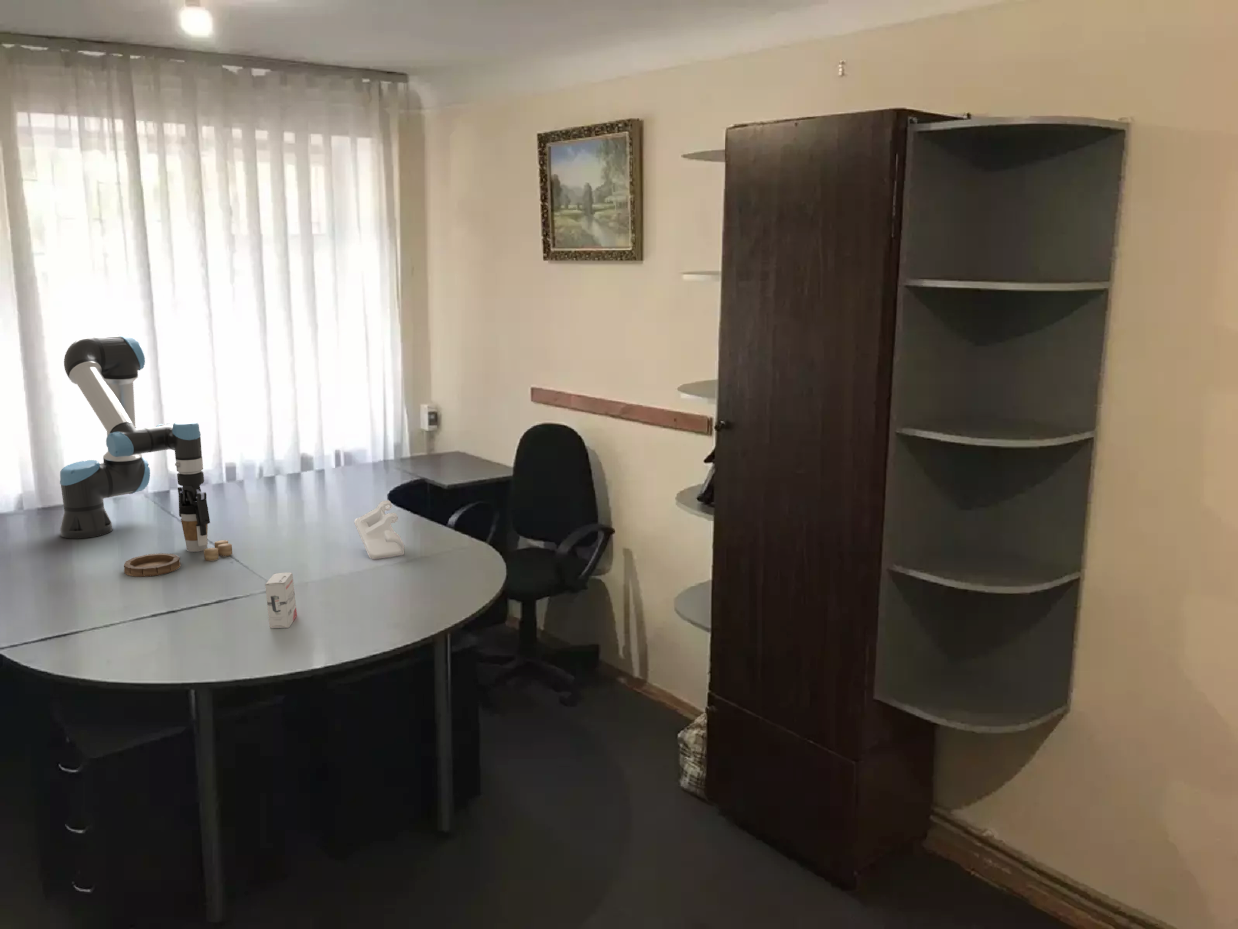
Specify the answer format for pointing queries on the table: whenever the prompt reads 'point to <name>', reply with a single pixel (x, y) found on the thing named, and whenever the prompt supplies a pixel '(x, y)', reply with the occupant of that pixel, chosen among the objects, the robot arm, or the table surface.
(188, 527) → the coffee cup
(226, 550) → the bead
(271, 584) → the ink box
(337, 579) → the table surface
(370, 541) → the white angular bracket-shaped piece
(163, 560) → the round tray
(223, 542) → the bead
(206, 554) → the bead
